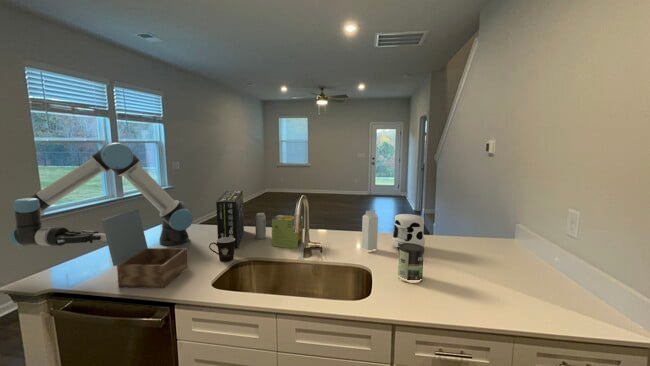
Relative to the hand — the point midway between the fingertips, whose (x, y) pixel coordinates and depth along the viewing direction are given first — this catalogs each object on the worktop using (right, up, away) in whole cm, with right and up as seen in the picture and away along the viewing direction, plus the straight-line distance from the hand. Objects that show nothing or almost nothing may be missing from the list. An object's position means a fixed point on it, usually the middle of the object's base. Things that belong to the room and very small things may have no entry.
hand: (110, 237), depth 125 cm
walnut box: (+18, -17, +2) cm, 25 cm away
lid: (+8, +1, 0) cm, 8 cm away
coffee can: (+126, -19, +4) cm, 127 cm away
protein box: (+68, -13, +46) cm, 83 cm away
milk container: (+135, -14, +41) cm, 142 cm away
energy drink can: (+51, -11, +57) cm, 77 cm away
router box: (+34, -11, +53) cm, 64 cm away
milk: (+114, -14, +38) cm, 120 cm away
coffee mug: (+40, -15, +23) cm, 48 cm away
